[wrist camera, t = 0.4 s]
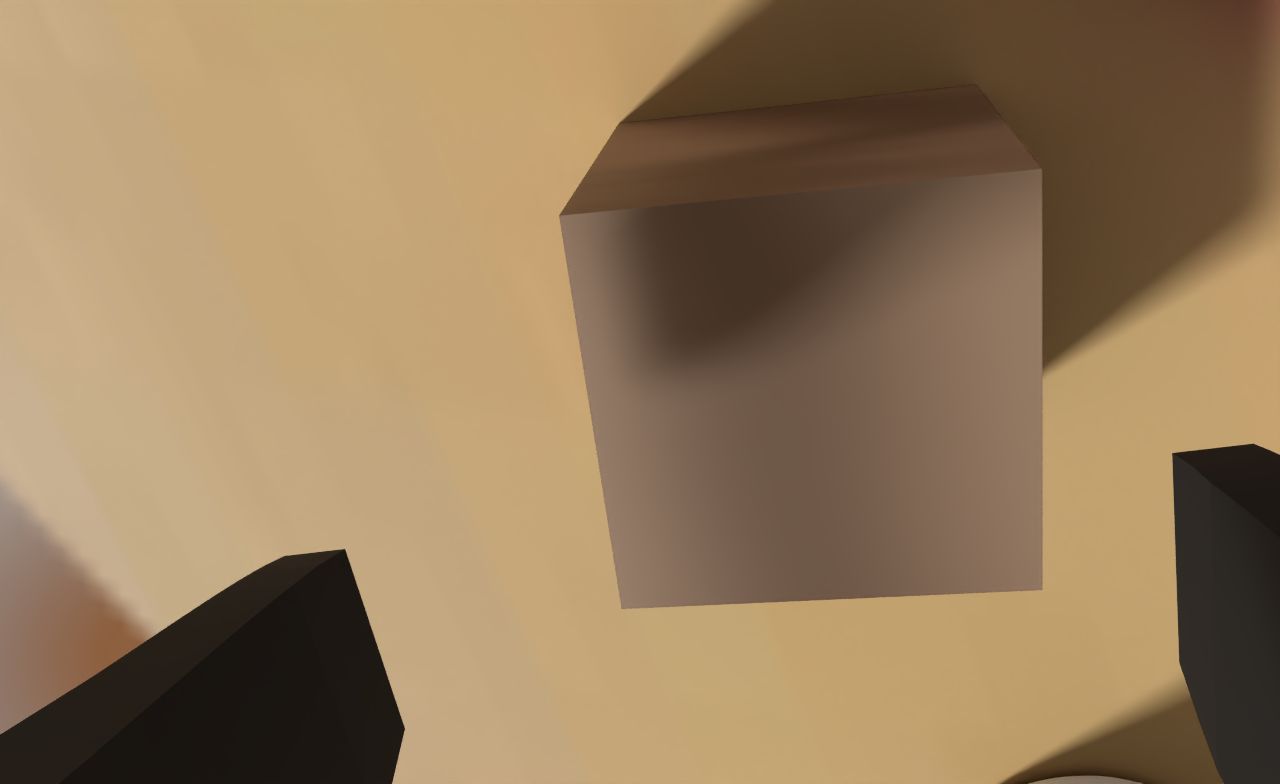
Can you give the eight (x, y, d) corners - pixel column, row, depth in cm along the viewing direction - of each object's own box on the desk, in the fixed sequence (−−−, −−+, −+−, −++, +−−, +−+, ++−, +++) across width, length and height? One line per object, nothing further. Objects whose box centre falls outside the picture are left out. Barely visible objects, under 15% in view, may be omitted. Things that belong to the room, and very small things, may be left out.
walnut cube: (975, 83, 17) (1041, 168, 12) (981, 412, 19) (1042, 589, 14) (619, 122, 18) (559, 215, 13) (661, 433, 20) (621, 609, 15)
